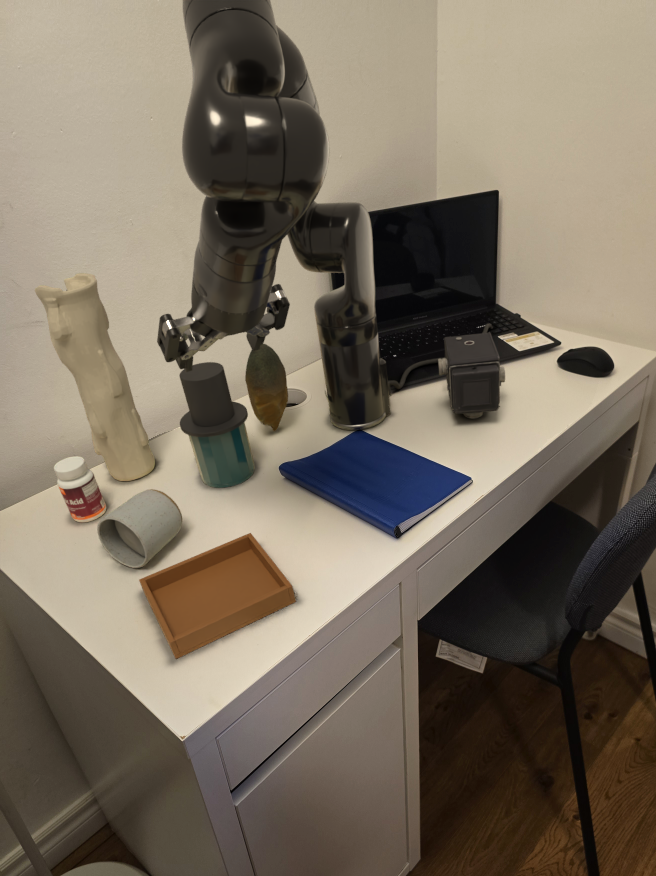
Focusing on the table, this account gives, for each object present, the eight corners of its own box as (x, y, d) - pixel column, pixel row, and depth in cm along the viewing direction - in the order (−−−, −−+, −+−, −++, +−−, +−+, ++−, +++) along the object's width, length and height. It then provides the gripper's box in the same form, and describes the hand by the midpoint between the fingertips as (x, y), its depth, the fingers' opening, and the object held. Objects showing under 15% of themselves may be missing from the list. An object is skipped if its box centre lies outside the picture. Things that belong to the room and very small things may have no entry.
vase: (119, 492, 97) (40, 291, 80) (93, 473, 103) (15, 281, 85) (169, 466, 102) (105, 271, 85) (142, 450, 107) (77, 263, 90)
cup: (243, 453, 103) (230, 401, 98) (263, 474, 98) (250, 421, 92) (194, 471, 100) (179, 419, 95) (212, 494, 95) (196, 440, 89)
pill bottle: (65, 520, 93) (42, 471, 88) (88, 501, 96) (67, 452, 91) (92, 525, 91) (70, 475, 86) (114, 505, 95) (94, 456, 90)
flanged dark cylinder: (235, 407, 100) (221, 351, 95) (260, 430, 93) (247, 371, 88) (174, 427, 96) (157, 370, 91) (196, 454, 89) (178, 393, 84)
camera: (436, 398, 115) (444, 432, 102) (432, 334, 109) (440, 361, 96) (497, 392, 114) (513, 426, 101) (496, 327, 109) (513, 354, 96)
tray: (254, 547, 83) (250, 532, 82) (296, 601, 75) (292, 585, 73) (145, 595, 78) (138, 579, 77) (175, 659, 69) (169, 643, 68)
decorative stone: (269, 416, 113) (251, 333, 104) (302, 418, 111) (287, 333, 103) (247, 445, 105) (226, 358, 97) (282, 447, 104) (264, 358, 95)
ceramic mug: (193, 534, 87) (177, 486, 83) (154, 573, 81) (134, 524, 77) (131, 522, 91) (112, 475, 87) (89, 559, 85) (67, 511, 81)
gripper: (283, 228, 67) (260, 311, 82) (145, 260, 61) (148, 343, 76) (314, 292, 66) (286, 364, 81) (178, 330, 60) (174, 400, 75)
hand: (219, 354), depth 78 cm, fingers open, 8 cm apart
